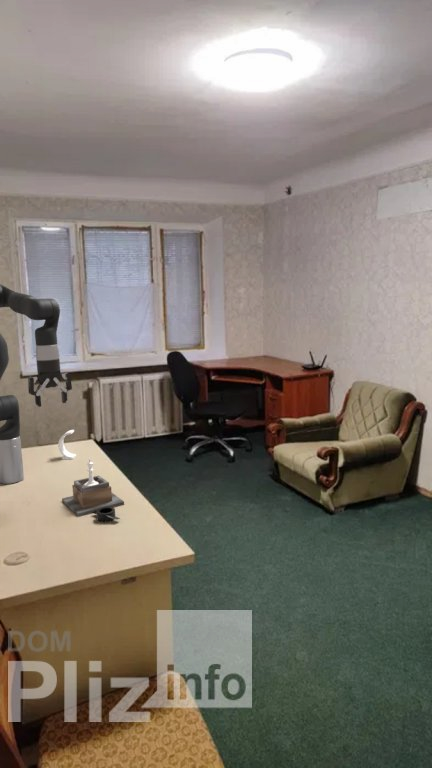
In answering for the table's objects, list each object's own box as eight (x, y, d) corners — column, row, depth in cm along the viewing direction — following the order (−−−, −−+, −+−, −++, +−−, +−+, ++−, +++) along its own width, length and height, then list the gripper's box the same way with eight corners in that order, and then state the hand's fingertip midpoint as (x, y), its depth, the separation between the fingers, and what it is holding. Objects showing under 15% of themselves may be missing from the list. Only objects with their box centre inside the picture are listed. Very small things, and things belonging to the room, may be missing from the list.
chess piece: (86, 489, 179) (83, 460, 178) (82, 485, 184) (80, 456, 182) (100, 486, 181) (98, 458, 180) (96, 482, 186) (94, 454, 184)
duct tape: (96, 527, 164) (95, 518, 164) (91, 515, 174) (91, 506, 173) (121, 523, 167) (120, 514, 167) (115, 511, 176) (115, 502, 176)
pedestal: (62, 501, 186) (60, 480, 184) (105, 490, 194) (104, 470, 193) (78, 516, 173) (76, 494, 171) (124, 504, 181) (122, 483, 180)
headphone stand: (73, 459, 233) (70, 432, 231) (59, 459, 233) (57, 432, 231) (76, 456, 237) (74, 429, 235) (62, 456, 237) (60, 429, 235)
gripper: (64, 355, 190) (68, 400, 192) (23, 359, 182) (27, 405, 185) (71, 356, 183) (75, 403, 186) (29, 361, 176) (33, 409, 179)
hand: (51, 404), depth 186 cm, fingers open, 8 cm apart
